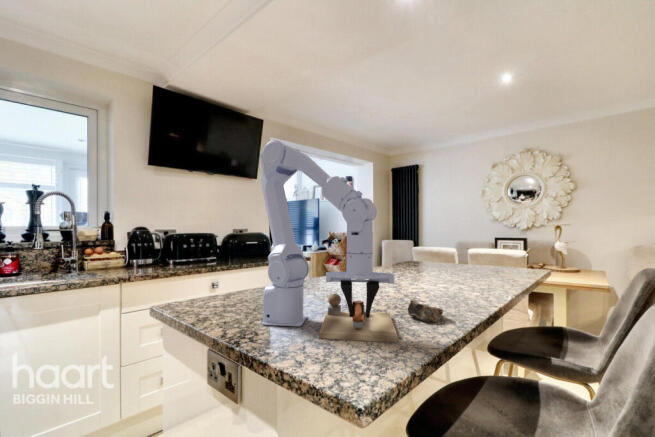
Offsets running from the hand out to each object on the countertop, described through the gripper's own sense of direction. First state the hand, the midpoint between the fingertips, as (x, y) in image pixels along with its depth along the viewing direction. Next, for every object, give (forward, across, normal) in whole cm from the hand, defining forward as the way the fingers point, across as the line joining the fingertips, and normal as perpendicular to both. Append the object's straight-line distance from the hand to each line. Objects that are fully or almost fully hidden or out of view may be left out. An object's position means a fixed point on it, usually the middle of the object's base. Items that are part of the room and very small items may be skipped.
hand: (359, 316), depth 63 cm
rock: (+4, +18, +14) cm, 23 cm away
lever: (+2, 0, +7) cm, 8 cm away
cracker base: (+4, 0, +5) cm, 6 cm away
